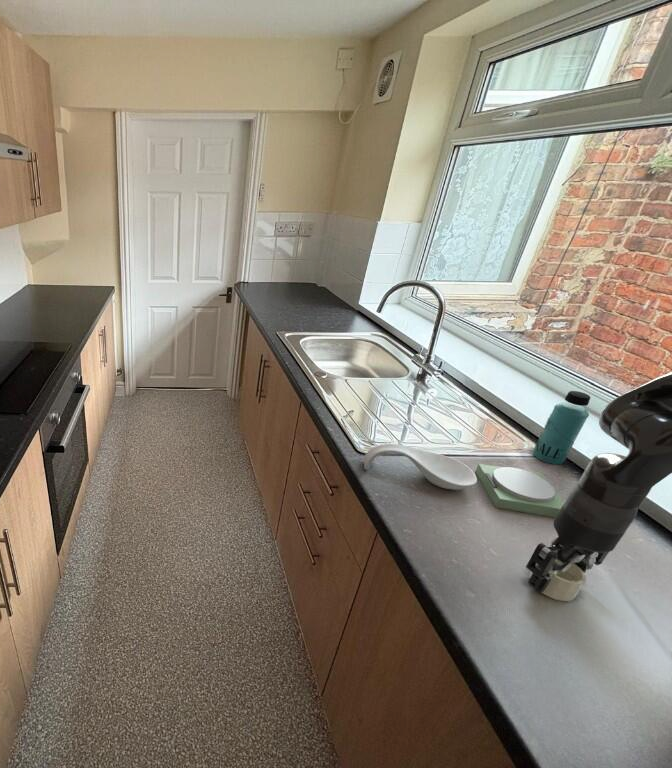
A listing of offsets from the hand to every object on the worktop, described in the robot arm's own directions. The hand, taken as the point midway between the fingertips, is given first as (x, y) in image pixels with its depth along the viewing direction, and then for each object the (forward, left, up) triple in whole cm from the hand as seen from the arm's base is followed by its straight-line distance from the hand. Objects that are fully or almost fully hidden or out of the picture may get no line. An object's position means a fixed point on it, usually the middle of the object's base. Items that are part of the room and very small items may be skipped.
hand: (552, 583), depth 74 cm
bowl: (0, 0, -1) cm, 1 cm away
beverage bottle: (-17, -43, -1) cm, 46 cm away
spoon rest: (+16, -28, -1) cm, 32 cm away
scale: (-5, -27, -1) cm, 28 cm away
